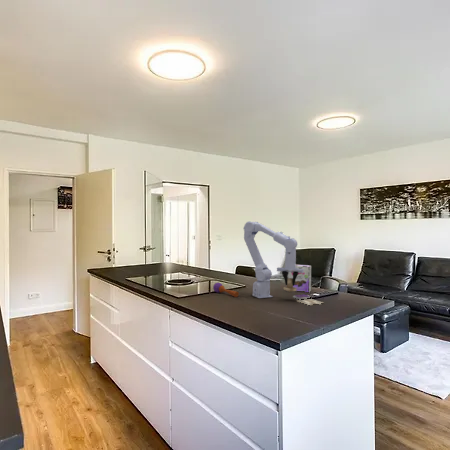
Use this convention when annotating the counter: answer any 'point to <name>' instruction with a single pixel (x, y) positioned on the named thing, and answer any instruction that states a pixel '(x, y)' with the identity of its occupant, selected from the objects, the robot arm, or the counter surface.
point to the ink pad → (301, 296)
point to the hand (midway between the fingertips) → (290, 285)
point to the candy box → (302, 278)
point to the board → (309, 301)
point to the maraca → (220, 288)
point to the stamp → (290, 286)
